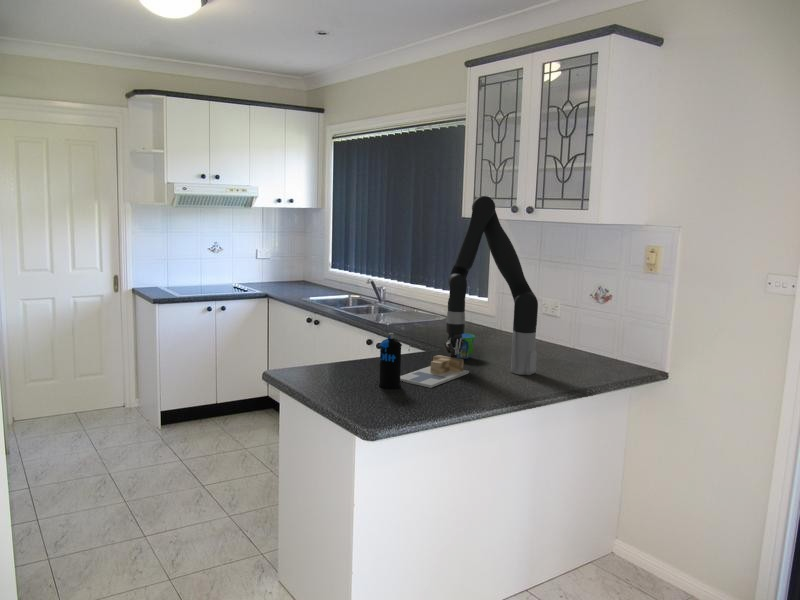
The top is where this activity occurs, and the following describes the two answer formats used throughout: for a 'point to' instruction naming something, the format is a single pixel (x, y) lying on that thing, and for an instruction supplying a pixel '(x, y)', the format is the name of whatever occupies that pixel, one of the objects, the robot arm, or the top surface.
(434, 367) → the t block
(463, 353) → the snack cup
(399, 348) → the aerosol can
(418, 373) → the mat
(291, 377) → the top surface
